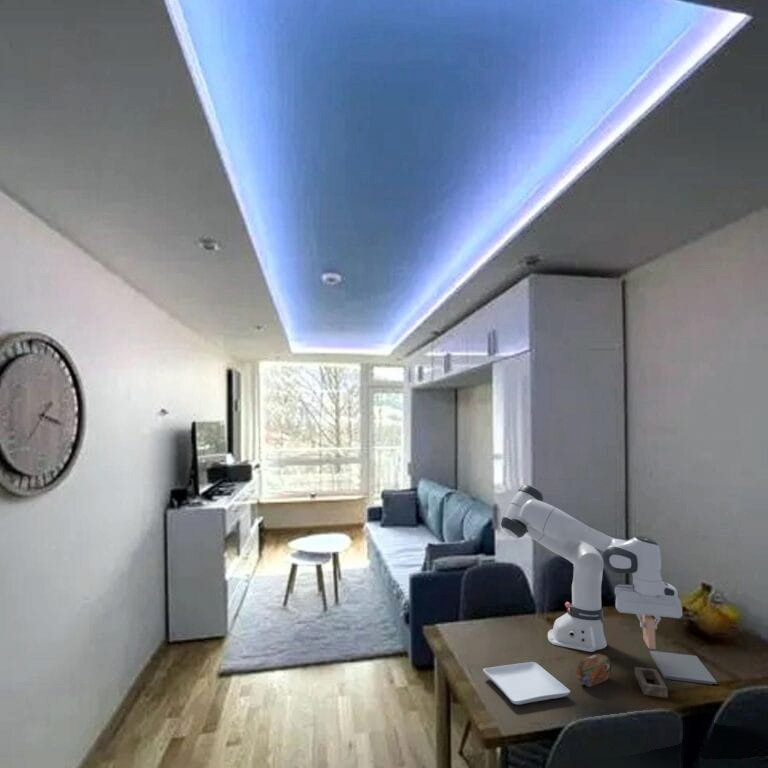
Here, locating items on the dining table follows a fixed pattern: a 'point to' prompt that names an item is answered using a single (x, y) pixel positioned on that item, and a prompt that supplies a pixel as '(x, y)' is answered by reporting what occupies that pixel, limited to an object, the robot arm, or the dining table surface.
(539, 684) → the salad plate
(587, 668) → the tin
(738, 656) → the dining table surface
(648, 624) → the pink flat slab
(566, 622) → the robot arm
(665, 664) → the rubber mat
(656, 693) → the brown flat hollow block
